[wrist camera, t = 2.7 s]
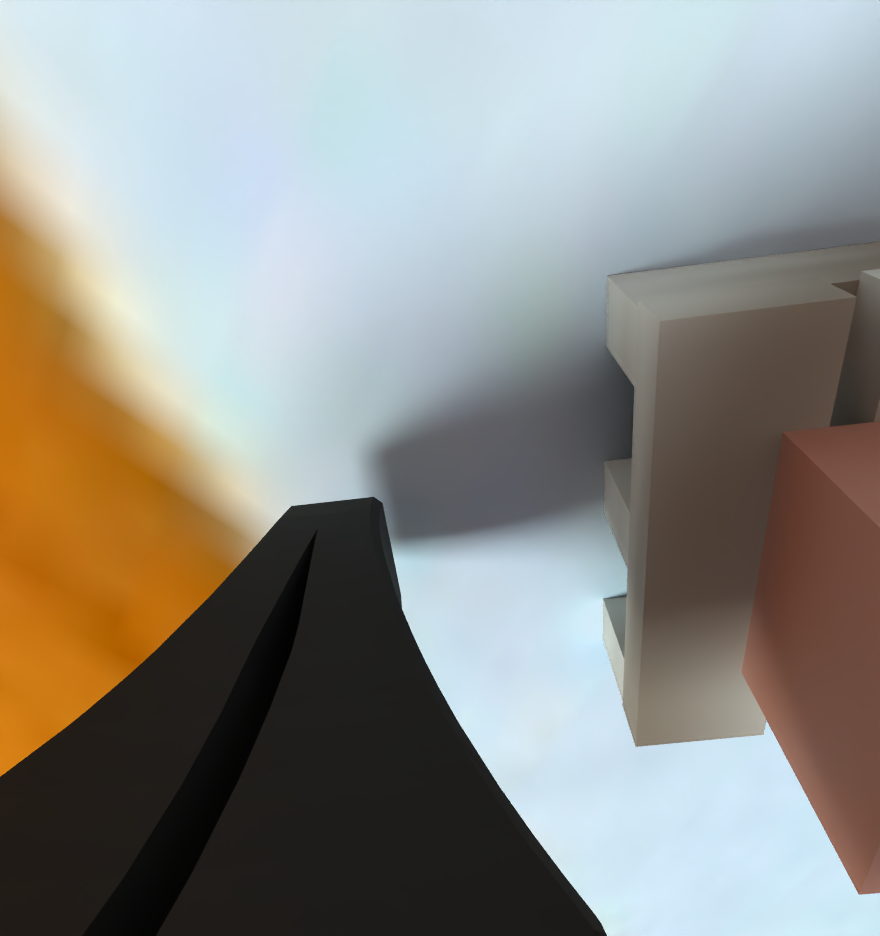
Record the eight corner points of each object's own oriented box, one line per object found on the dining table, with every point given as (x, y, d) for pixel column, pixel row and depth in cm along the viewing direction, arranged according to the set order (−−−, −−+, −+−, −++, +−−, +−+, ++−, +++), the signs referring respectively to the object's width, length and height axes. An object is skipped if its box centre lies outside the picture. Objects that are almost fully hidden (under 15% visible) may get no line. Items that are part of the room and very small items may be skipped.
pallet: (1141, 196, 8) (1373, 233, 6) (977, 597, 12) (1092, 703, 10) (604, 265, 9) (660, 321, 7) (600, 635, 12) (635, 746, 10)
